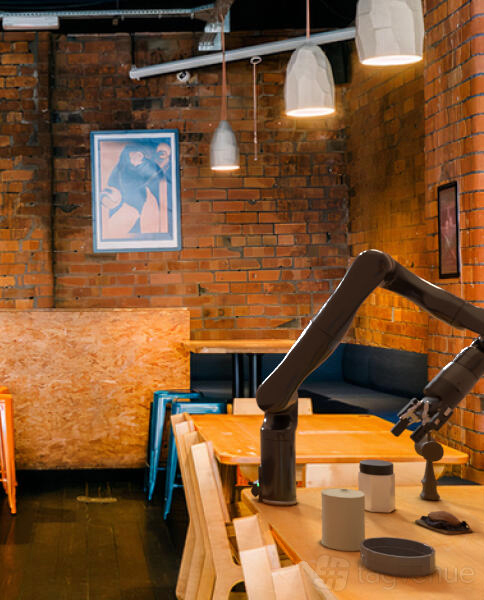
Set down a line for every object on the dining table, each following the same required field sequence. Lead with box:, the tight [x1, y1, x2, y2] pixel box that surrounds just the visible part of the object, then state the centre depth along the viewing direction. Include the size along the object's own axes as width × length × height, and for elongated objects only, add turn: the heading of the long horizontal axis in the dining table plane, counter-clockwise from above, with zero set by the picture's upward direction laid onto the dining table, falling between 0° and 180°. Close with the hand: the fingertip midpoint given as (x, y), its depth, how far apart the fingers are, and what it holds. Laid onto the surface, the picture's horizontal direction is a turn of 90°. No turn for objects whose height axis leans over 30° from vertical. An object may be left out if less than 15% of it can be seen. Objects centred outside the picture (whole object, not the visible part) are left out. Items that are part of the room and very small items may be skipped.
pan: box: [359, 536, 437, 578], centre depth 161 cm, size 14×14×4 cm
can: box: [320, 487, 366, 552], centre depth 176 cm, size 9×9×12 cm
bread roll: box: [414, 510, 473, 535], centre depth 189 cm, size 11×8×4 cm
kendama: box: [413, 432, 445, 501], centre depth 217 cm, size 6×10×20 cm, turn 165°
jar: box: [357, 459, 396, 513], centre depth 207 cm, size 9×8×12 cm
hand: (403, 437), depth 182 cm, fingers open, 8 cm apart
